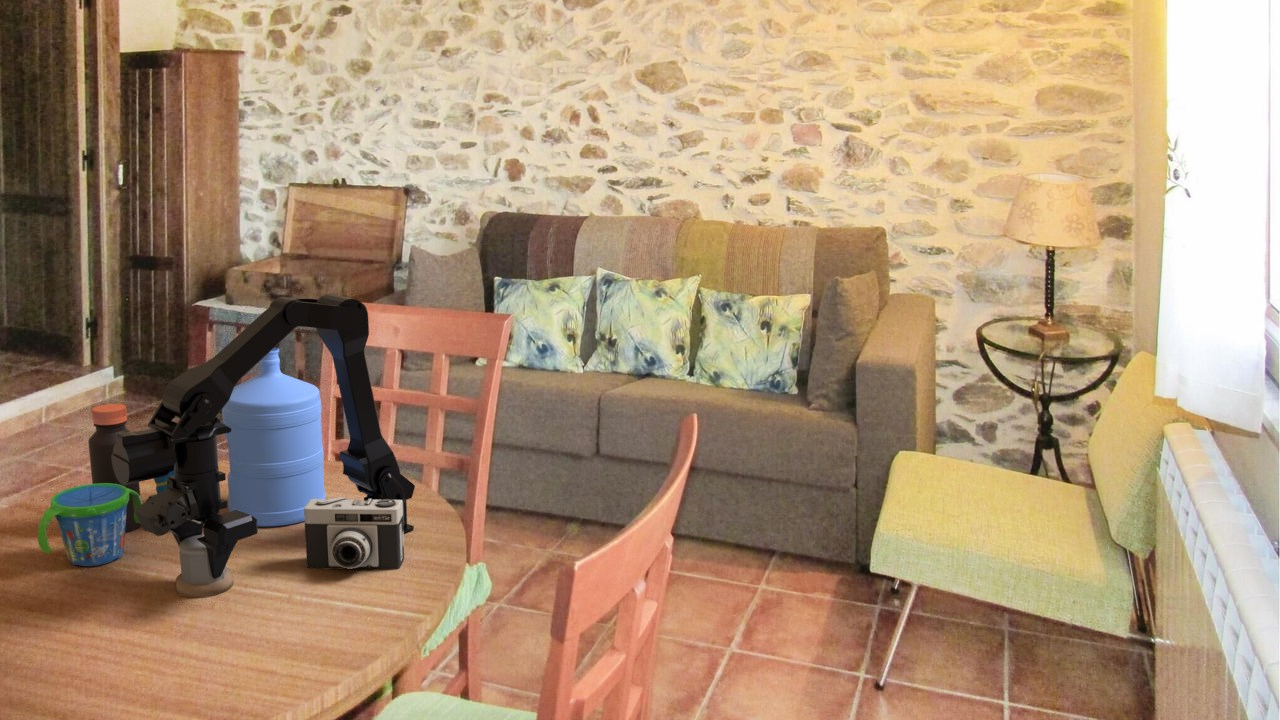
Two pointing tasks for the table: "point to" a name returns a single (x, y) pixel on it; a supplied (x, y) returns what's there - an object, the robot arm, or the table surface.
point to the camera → (354, 533)
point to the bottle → (110, 451)
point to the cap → (196, 562)
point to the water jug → (274, 446)
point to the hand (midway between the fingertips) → (204, 572)
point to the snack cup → (90, 522)
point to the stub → (204, 587)
